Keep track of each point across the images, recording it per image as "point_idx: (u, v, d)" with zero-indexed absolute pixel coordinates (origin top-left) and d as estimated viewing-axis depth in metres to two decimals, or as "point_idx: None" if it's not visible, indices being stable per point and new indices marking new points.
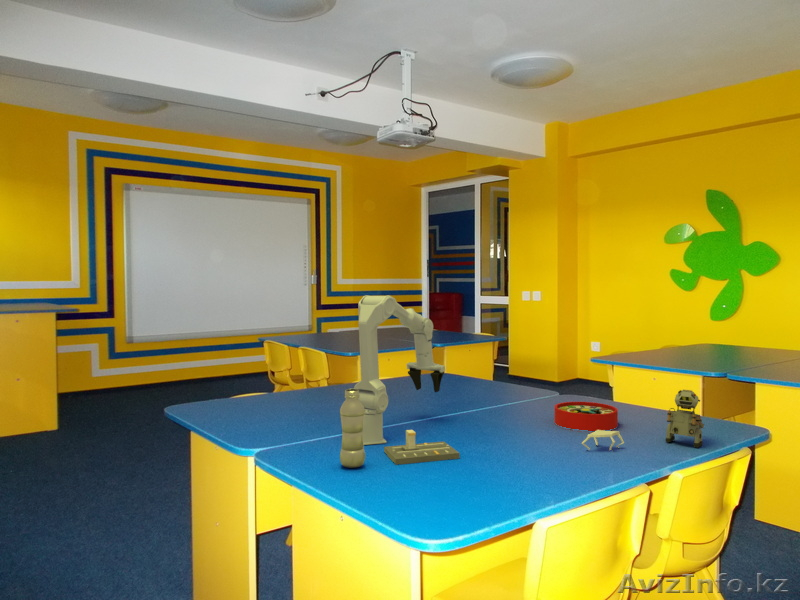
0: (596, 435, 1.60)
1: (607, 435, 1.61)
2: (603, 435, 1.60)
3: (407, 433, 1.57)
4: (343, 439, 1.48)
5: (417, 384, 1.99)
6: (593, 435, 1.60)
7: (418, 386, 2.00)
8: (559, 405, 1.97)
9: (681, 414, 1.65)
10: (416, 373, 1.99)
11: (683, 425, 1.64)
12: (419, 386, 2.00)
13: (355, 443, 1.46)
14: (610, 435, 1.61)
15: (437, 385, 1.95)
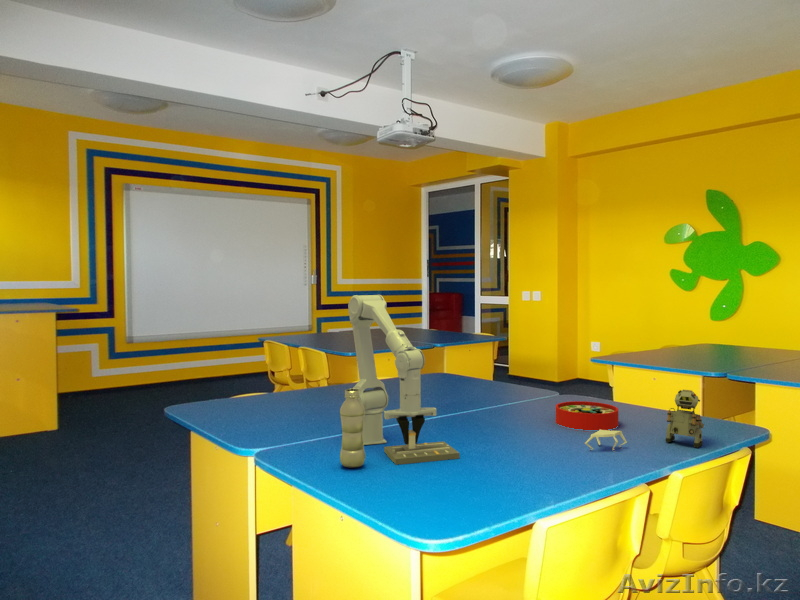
0: (599, 435, 1.61)
1: (610, 435, 1.61)
2: (606, 435, 1.61)
3: None
4: (343, 439, 1.48)
5: None
6: (596, 435, 1.61)
7: None
8: (560, 405, 1.98)
9: (681, 414, 1.65)
10: (413, 421, 1.58)
11: (683, 425, 1.64)
12: None
13: (355, 443, 1.46)
14: (613, 435, 1.61)
15: (404, 435, 1.57)
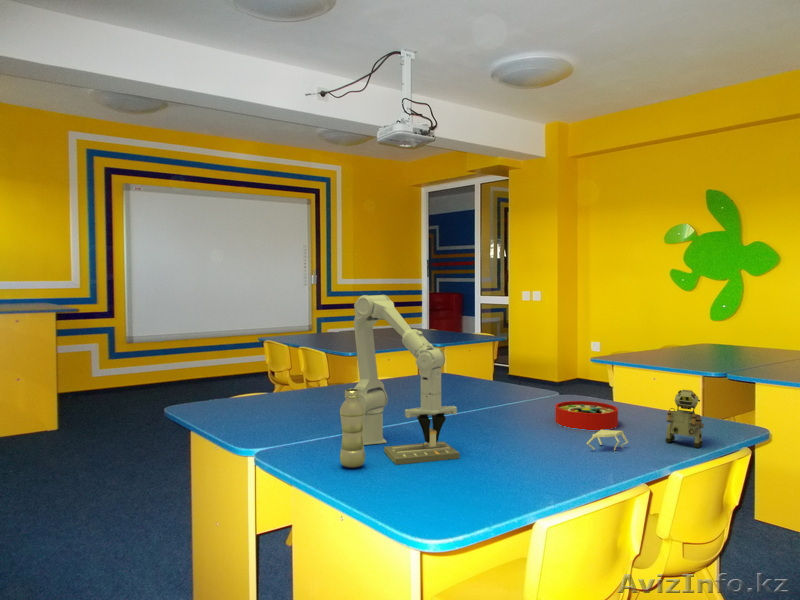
0: (601, 435, 1.61)
1: (612, 435, 1.61)
2: (608, 435, 1.61)
3: None
4: (343, 439, 1.48)
5: None
6: (598, 435, 1.61)
7: None
8: (560, 404, 1.98)
9: (681, 414, 1.65)
10: (434, 419, 1.60)
11: (683, 425, 1.64)
12: None
13: (355, 443, 1.46)
14: (614, 435, 1.61)
15: (425, 433, 1.59)
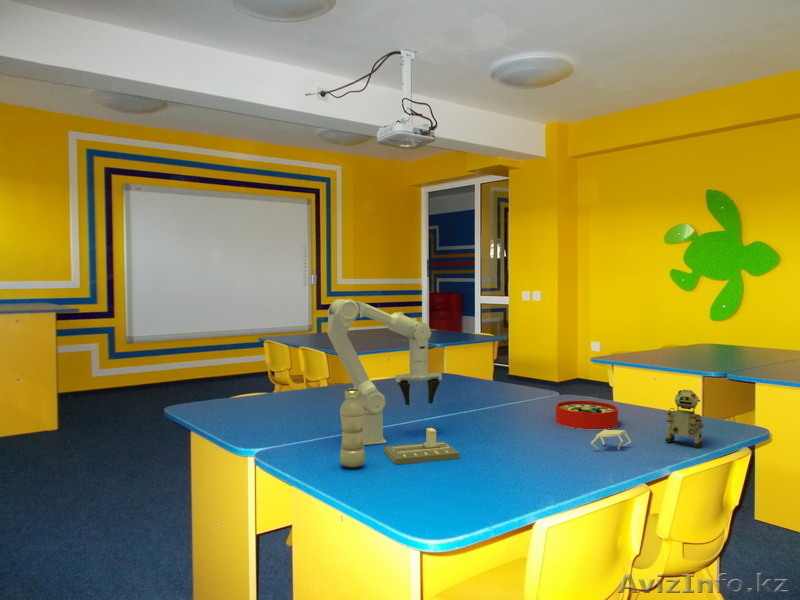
0: (605, 435, 1.61)
1: (615, 434, 1.61)
2: (611, 435, 1.61)
3: (428, 431, 1.59)
4: (343, 439, 1.48)
5: (429, 396, 1.81)
6: (602, 435, 1.61)
7: (429, 399, 1.80)
8: (560, 404, 1.99)
9: (681, 414, 1.65)
10: (429, 384, 1.80)
11: (683, 425, 1.64)
12: (429, 400, 1.80)
13: (355, 443, 1.46)
14: (618, 434, 1.61)
15: (405, 397, 1.78)
